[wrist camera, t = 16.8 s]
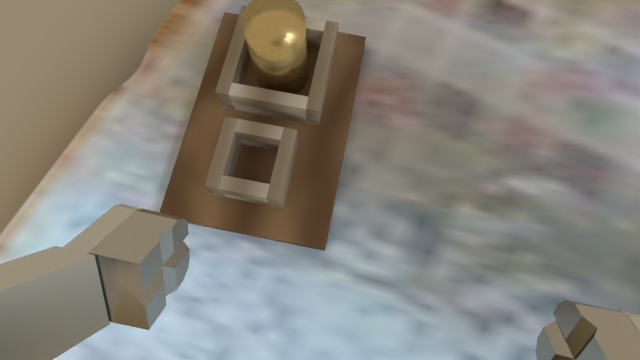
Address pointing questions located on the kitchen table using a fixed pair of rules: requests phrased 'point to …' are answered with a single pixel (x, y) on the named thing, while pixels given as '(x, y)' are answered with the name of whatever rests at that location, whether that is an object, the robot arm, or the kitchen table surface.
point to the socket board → (267, 140)
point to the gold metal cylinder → (277, 43)
